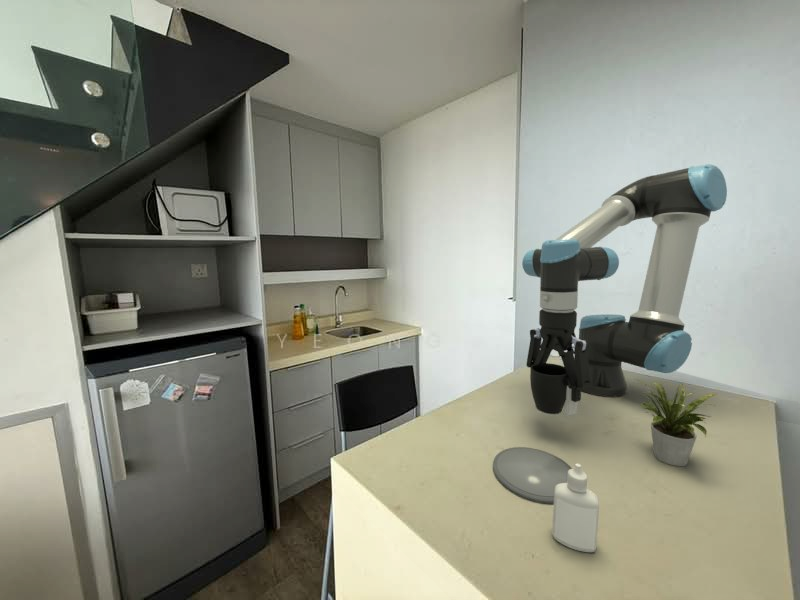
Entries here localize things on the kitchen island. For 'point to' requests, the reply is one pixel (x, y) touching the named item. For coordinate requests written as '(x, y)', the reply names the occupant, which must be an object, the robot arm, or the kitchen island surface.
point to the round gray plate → (530, 473)
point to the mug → (549, 387)
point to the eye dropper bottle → (575, 513)
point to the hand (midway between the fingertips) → (554, 405)
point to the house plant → (674, 426)
